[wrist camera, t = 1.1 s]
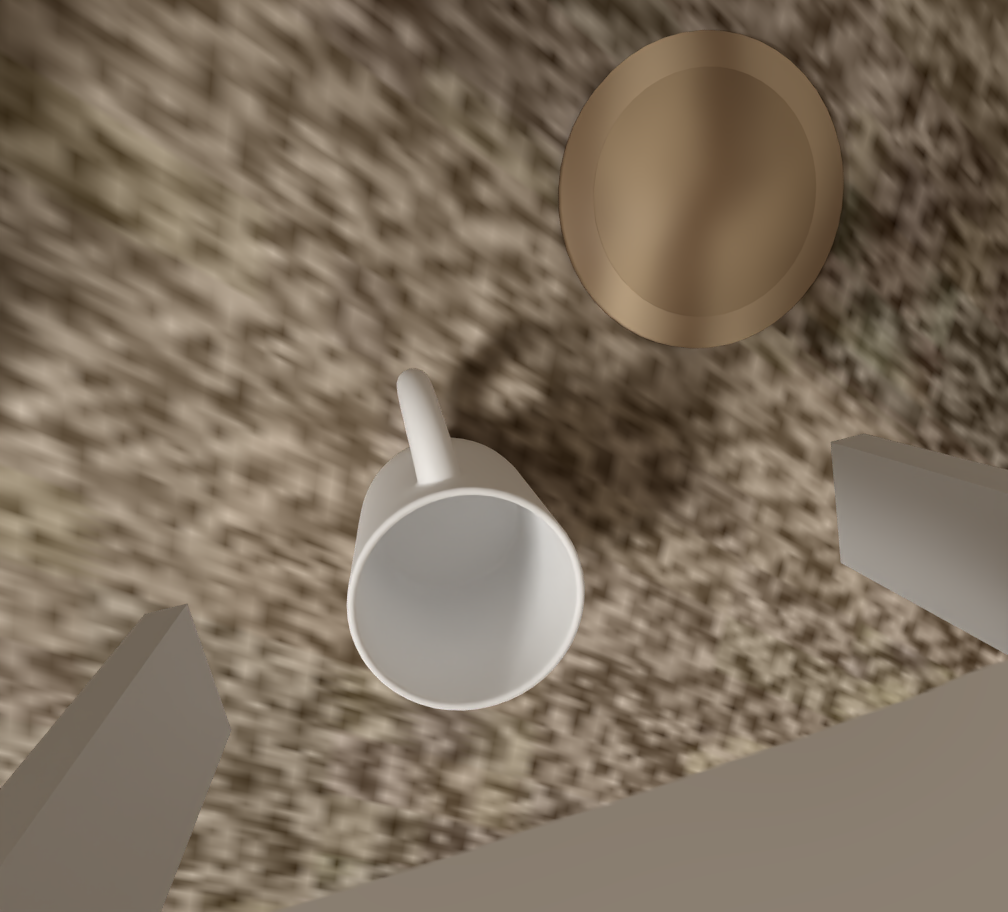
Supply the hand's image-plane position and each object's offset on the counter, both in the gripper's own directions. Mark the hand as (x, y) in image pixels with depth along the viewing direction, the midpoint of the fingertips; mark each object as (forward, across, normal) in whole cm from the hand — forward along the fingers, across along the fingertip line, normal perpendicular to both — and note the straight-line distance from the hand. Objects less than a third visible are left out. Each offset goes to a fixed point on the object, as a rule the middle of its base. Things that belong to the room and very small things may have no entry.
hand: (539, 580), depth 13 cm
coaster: (+19, +14, +8) cm, 25 cm away
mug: (+20, -1, -2) cm, 20 cm away
